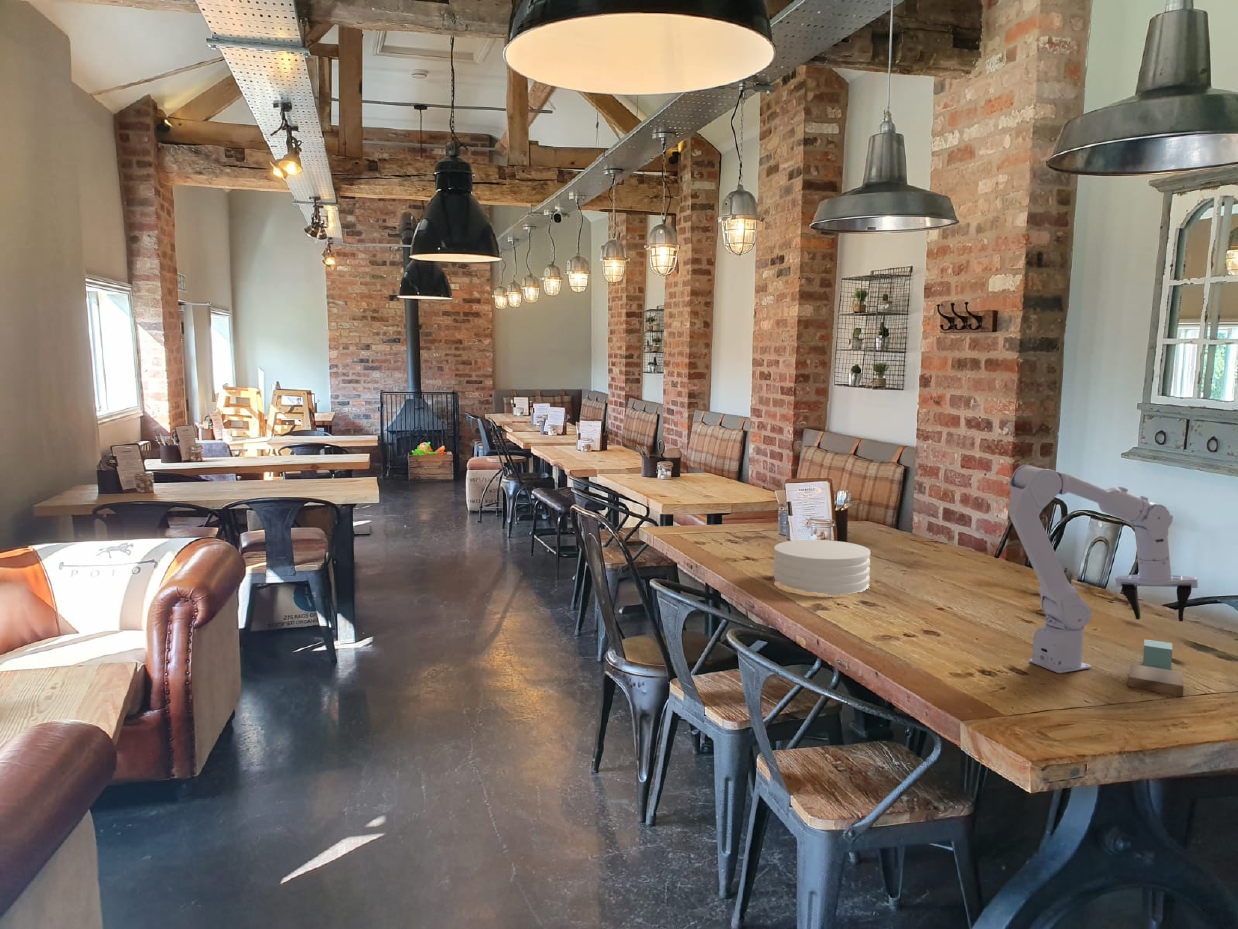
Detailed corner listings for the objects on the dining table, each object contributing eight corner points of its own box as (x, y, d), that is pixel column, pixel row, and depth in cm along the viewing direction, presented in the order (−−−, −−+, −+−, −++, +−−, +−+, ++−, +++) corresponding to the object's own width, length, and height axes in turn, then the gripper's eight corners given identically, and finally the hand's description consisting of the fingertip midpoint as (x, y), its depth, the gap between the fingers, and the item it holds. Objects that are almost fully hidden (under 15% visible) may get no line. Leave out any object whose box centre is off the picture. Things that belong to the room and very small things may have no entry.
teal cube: (1142, 668, 173) (1144, 645, 173) (1143, 661, 177) (1144, 639, 177) (1170, 672, 171) (1172, 649, 170) (1170, 665, 175) (1172, 643, 174)
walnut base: (1128, 686, 163) (1129, 676, 163) (1129, 673, 170) (1130, 663, 170) (1182, 695, 158) (1183, 686, 158) (1181, 681, 165) (1182, 672, 165)
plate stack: (833, 604, 224) (834, 563, 223) (754, 585, 245) (755, 548, 244) (887, 587, 243) (888, 549, 241) (809, 570, 264) (810, 536, 262)
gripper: (1195, 552, 171) (1201, 614, 172) (1115, 552, 180) (1121, 611, 181) (1194, 561, 166) (1200, 625, 167) (1112, 561, 174) (1118, 621, 176)
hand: (1159, 618), depth 174 cm, fingers open, 7 cm apart
